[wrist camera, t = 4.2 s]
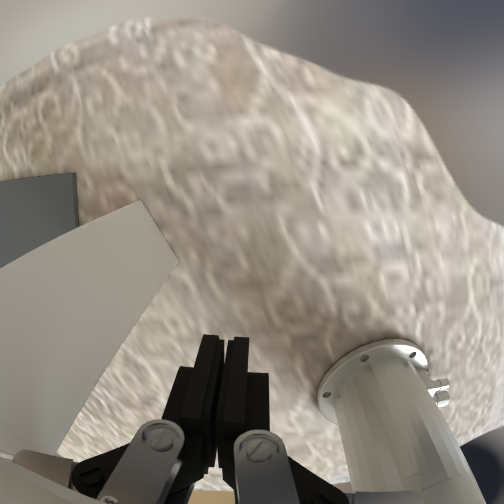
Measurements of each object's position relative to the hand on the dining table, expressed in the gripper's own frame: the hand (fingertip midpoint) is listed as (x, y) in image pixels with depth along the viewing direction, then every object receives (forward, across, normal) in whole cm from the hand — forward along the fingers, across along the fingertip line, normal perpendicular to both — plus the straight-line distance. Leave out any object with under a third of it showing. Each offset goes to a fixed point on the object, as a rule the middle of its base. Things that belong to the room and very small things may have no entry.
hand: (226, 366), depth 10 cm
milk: (+13, +9, 0) cm, 16 cm away
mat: (+13, +27, 0) cm, 30 cm away
